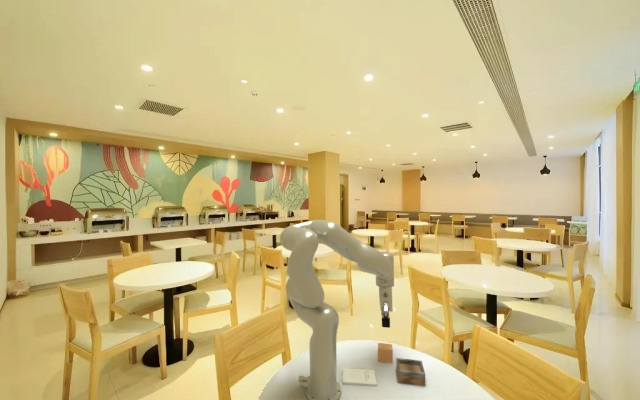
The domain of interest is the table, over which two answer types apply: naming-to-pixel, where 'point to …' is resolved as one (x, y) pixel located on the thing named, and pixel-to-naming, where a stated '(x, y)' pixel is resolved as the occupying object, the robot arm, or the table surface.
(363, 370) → the external hard drive
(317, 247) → the robot arm
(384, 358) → the tan block
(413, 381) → the brown wooden box
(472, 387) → the table surface
